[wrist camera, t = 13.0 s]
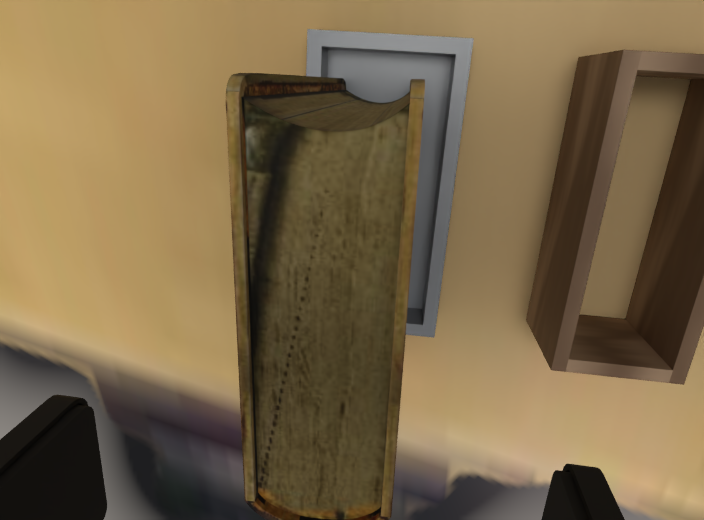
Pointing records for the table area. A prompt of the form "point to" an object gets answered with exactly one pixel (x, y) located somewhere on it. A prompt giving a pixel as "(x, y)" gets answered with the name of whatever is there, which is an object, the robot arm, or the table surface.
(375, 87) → the tray
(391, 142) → the book
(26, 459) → the robot arm
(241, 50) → the table surface
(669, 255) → the frame
